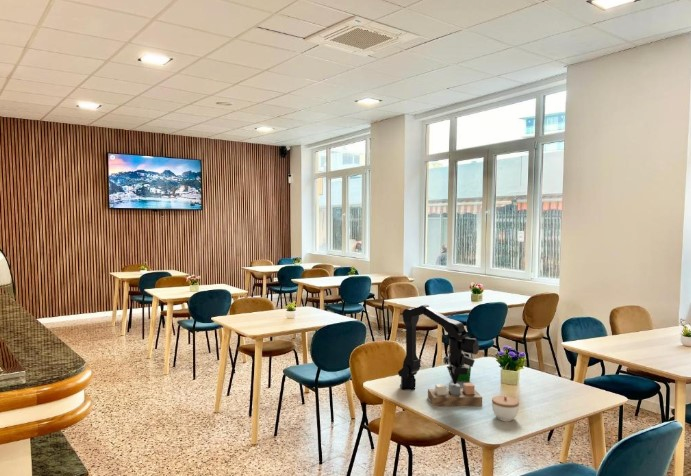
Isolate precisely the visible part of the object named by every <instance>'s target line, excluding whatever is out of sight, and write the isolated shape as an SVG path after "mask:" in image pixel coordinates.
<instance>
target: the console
mask: <svg viewBox="0 0 691 476" xmlns="http://www.w3.org/2000/svg"><path fill="white" fill-rule="evenodd" d="M427 398H428V400H429V401H430V403H431V404H432V406H433V407H436V408H437V407H438V408H439V407H440V408H441V407H482V406H483V396H482V395H481V394H480V393H479V392H478V391H477V390H476V389H475V388H474V394H473V395H466V394H465V393H464V392H463V388H460V395H451V394H450V392H449V388H446V395H437V394H436V393H435V388H429V389H427Z"/></svg>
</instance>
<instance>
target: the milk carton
mask: <svg viewBox="0 0 691 476" xmlns="http://www.w3.org/2000/svg"><path fill="white" fill-rule="evenodd" d="M462 353H463V354H465V353H466V352H463V351H462ZM467 354H469V357H471V358H472V354H471V353H467ZM461 366H465V367H466V368H467V369H468V374H459V377H458V380H457V382H470V381H471V380H470V379H471V373H472V372H471V371H472V367H470V366H469V365H466V364H464V365H461Z"/></svg>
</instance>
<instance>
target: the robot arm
mask: <svg viewBox="0 0 691 476" xmlns="http://www.w3.org/2000/svg"><path fill="white" fill-rule="evenodd" d="M401 315H402V321H403V323H404V326H405V357H404V359H403V362H402V367H401V369H399V370H398V372H397V373H398V376H399V377H400V385H399V386H400V389H401V390H403V391H404V390H407V391H408V390H410V391H411V390H413V391H414V390H416V384H417V383H416V377H415V375H417V374H418V372H419V370H420V369H421V368H422V366H421V358H418V356H417V325H418V323H419V319H420V316H421V315H424V316H425V317H427V318H428V319H430V320H432V321H433V322H435V323H436V324H438V325H440V326H441V327H442V328H443V329H444V331H445V332H446V333H447V334H448V335H446V336H445V337H444V339H445V340H448V345H449V346H448V349H449V350H447V353H448V356H444V357H443V361H442V362H443V364H444V365H446V364H447V363H448V366H446V368H447V372H448V373H449V376H450V379H451V380H452V383H454V384H456V383H458V381H457V380H458V377H459V374H468V369H467V368H466V367H465V366H461V365H464V364H466V365H469V366H470V367H471V368H473V367H474V363H475V361H476V360H475V359H473V358H472V356H471V357H469V354H467V353H471V355H477V354H478V353H479V350H480V344H479V342H478V338H476V337H475V338H473V337H472V338H471V337H470V336H469V334H468V331H467V330H466V328H465V325H464V323H463V322H460V321H458V320H456V319H452V318H448V317H447V316H446V315H444V314H442V313H441V312H439V311H437V310H436V309H434V308H432V307H431V306H430V305H429V304H423V305H420V306H418V307H409V308H405V309H403V310H402V313H401ZM462 351H463V352H466V353H465V354H463V353H462Z"/></svg>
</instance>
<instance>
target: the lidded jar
mask: <svg viewBox="0 0 691 476" xmlns="http://www.w3.org/2000/svg"><path fill="white" fill-rule="evenodd" d="M491 402H492V403H491V406H492V412H493V414H494V415H495V416H496V417H497V419H498V420H500V421H503V422H512V421H513V420H514V419H515V418H516V417H517V415H518V412H519V404H520V402H519V400H518V399H516V398H515V397H512V396H508V395H495V396H493V397H492V399H491Z"/></svg>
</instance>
